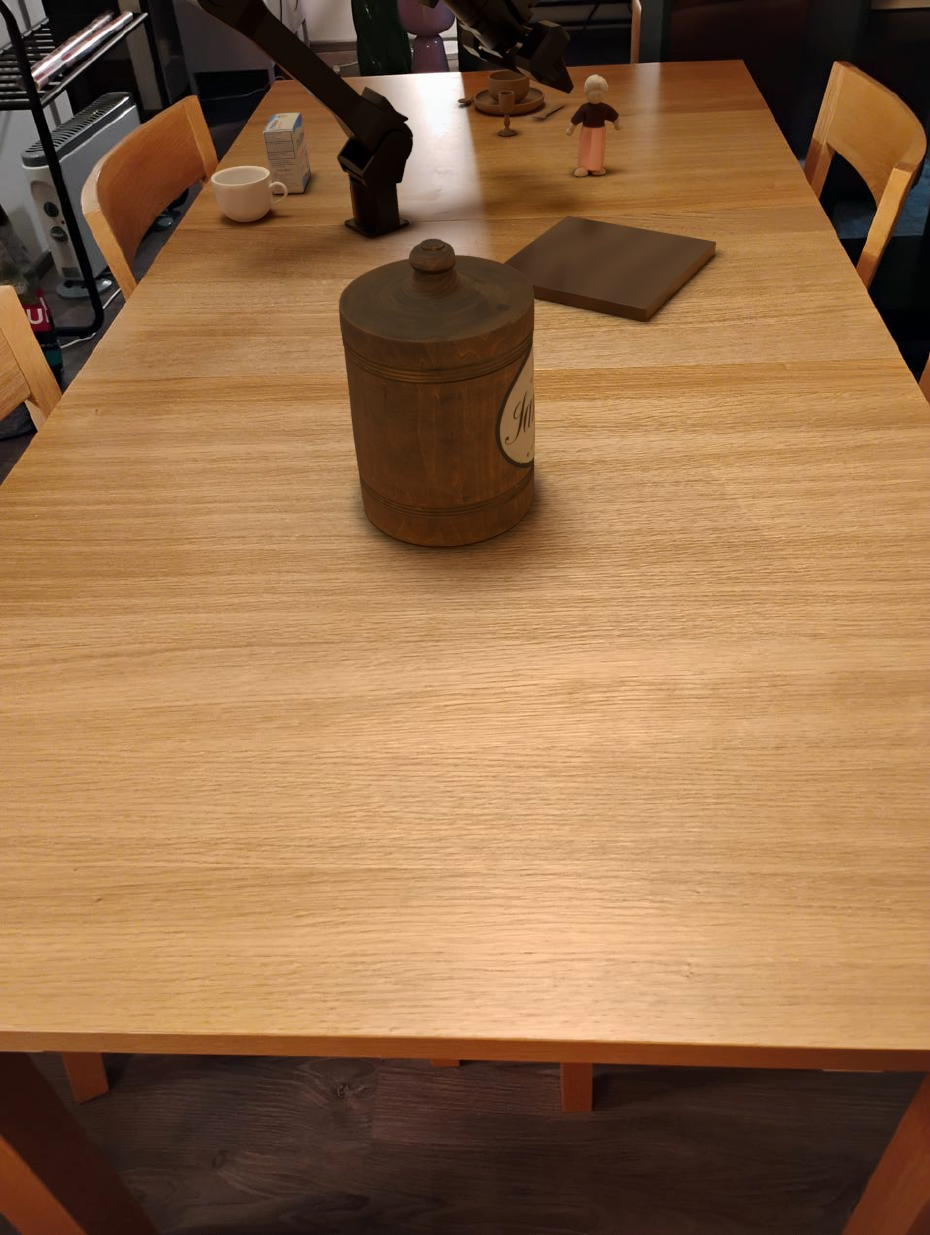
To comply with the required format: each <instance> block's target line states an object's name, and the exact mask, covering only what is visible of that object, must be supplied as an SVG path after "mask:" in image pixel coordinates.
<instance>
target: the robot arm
mask: <svg viewBox="0 0 930 1235" xmlns="http://www.w3.org/2000/svg"><path fill="white" fill-rule="evenodd" d="M186 1H187V2H189V3H190V4H192V5H193V6H195V7H197V8H198V9H200V10H202V11H203V12H204V13H206V14H208V15H209V16H211V17H212V18H214V19H215V20H218V21H219V22H221V23H222V24H224V25H226V26H227V27H229V28H231V29H232V30H234V31H235V32H237V33H239V34H240V35H242V36H244V37H245V39H247V40H248V41H249V42H250V43H252V45H254V47H256V48H257V49H258V50H259V51H260V52H261V53H263V54H264V55H265V56H267V58H268V59H270V60H271V61H272V62H273V63H274V64H275V65H276V66H277V67H278V68H280V69H281V70H282V72H284V73H285V74H286V75H288V76H289V77H290V78H291V79H292V80H293V81H294V82H295V83H297V84H298V85H299V86H300V87H301V88H302V89H303V90H305V91H306V92H307V93H308V94H309V95H310V96H311V97H312V98H314V100H316V101H317V102H318V103H319V104H320V105H321V106H323V107H324V108H325V109H326V111H328V112H329V113H330V114H331V115H332V116H333V117H334V119H335V121H336V122H337V123H338V125H339V127H340V128H341V130H342V131H343V133H344V135H345V136H346V137H347V140H346V142H345V143H344V145H343V146H342V148H341V150H340V151H339V152H338V154H337V156H336V159H337V162H338V164H339V166H340V168H341V170H342V172H344V173H346V174H348V182H349V192H350V201H351V207H352V208H351V209H352V216H353V217H352V218H349V219H346V220H344V225H345V226H346V227H348V228H350V229H352V230H354V231H356V232H358V233H360V234H362V235H363V236H366V237H368V238H375V237H378V236H381V235H384V234H386V233H390V232H392V231H395V230H398V229H402V228H404V227H406V226H409V225H411V222H410V221H411V220H410V219H408V218H406V217H403V216H402V215H400V207H399V197H398V184H401V183H402V182H403V180H404V174H405V169H406V165H407V161H408V159H409V158H410V156H411V154H412V151H413V148H414V134H413V131H412V129H411V128H410V126H409V125H408V124H407V122H408V121H409V117H408V116H407V115H404V114H403V113H401V112H399V111H398V110H396V108H395V106H394V105H392V103H391V102H390V100H389V98H387V97H386V96H385V95H383V94H381V93H379V92H378V91H376V90H374V89H371V88H370V87H368V86H366V85H365V86H364V88H363V90H362V92H361V94H360V93H358V92H357V91H356V90H355V89H354V88H353V87H352V86H351V85H350V84H349V83H347V82H346V81H345V80H344V79H343V78H342V77H341V76H340V75H339V74H338V73H337V72H336V71H335V70H334V69H333V68H331V67H330V66H329V64H327V63H326V62H325V61H324V60H323V59H322V58H321V57H320V56H319V55H317V53H315V52H314V51H313V50H312V49H311V48H310V47H309V46H308V45H307V44H305V42H304V41H302V40H301V38H299V37H298V36H297V35H296V34H295V33H294V32H293V31H292V30H291V29H289V27H287V25H285V24H284V23H283V22H282V21H281V20H280V19H279V18H277V16H275V14H274V13H272V11H271V10H270V9H269V7H268V6H267V3H266V2H265V1H264V0H186ZM440 1H441V2H442V3H443V4H444V5H445V6H446V7H447V9H449V10H450V11H451V12H452V13H453V15H455V16H456V17H457V19H459V20H458V22H457V24H458V25H459V26H460V27H461V28H462V29H463V30H462V31H461V35H460V36H461V45H462V47H463V48H465V49H466V50H467V51H468V52H469V53H470V54H471V55H474V56H476V57H477V58H479V59H481V60H483V61H485V62H488V63H491V64H493V65H496V66H499V67H501V68H503V69H505V70H511V71H514V72H516V73H519V74H521V75H524V76H527V78H528V79H530V81H533V82H536V83H538V84H541V85H544V86H546V87H549V88H551V89H554V90H557V91H560V92H562V93H564V94H567V95H569V94H571V93H572V91H573V89H574V87H575V85H574V83H573V81H572V78H571V76H570V73H569V71H568V69H567V66H566V64H565V61H564V58H563V52H564V50H565V49H566V47H567V45H568V44H569V42H570V38H571V35H570V34H569V32H567V30H566V29H565V28H564V27H563V26H562V25H561V24H558V23H555V22H553V21H550V20H541V21H537V22H536V23H535V24H534V26H533V27H532V28H530V27H527V26H525V25H526V24H529V23H530V21H531V20H532V18H533V16H534V15H535V14H534V13H533V11H532V10H531V9H532V8H534V7H536V5H538V4H539V3H540V2H541V1H542V0H417V3H418V4H419V5H421V6H423V7H425V8H429V9H431V10H434V9H435V8H436V7H437V5H438V4H439V2H440ZM405 122H406V123H405Z"/></svg>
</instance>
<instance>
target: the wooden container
mask: <svg viewBox="0 0 930 1235" xmlns="http://www.w3.org/2000/svg"><path fill="white" fill-rule="evenodd" d="M503 263H504V262H500V261H498V260H497V261H496V260H493V259H489V258H485V257H481V256H474V255H462V254H456V253H455V249H454V247H453V246H452V245H451V244H450V243H448V242H446V241H444V240H442V239H441V238H426V239H424V240H422V241H421V242H419V243H418V244H416V245H415V246H414V247H412V249H411V250H410V252H409V255H408V258H405V259H404V258H403V259H400V260H396V261H392V262H389V263H385V264H382V265H380V266H377V267H375V268H373V269H371V270H368V271H366V272H364V273H363V274H360V275H359V276H358V277H356V278H355V279H353V280H351V282H349V284H347V285H346V286H345V288H344V289H343V291H341V294H340V296H339V300H338V314H339V328H340V332H341V340H342V346H343V351H344V362H345V369H346V378H347V388H348V395H349V407H350V417H351V427H352V434H353V435H352V436H353V444H354V448H355V449H354V450H355V457H356V464H357V469H358V477H359V484H360V490H361V492H360V493H361V499H362V504H363V508H364V511H365V513H366V515H367V517H368V519H369V520H370V521H371V523H373V525H374V526H376V527H377V528H378V529H379V530H380V531H382V532H384V533H385V534H387V535H388V536H391V537H393V538H394V539H397V540H399V541H402V542H406V543H408V544H413V545H419V546H425V547H456V546H464V545H471V544H475V543H479V542H483V541H486V540H488V539H491V538H494V537H496V536H498V535H500V534H502V533H504V532H506V531H507V530H509V529H511V528H512V527H513V526H515V525H516V524H517V523H519V522H520V521H521V520H522V519H523V517H525V516H526V514H527V513H528V512H529V510H530V508H531V506H532V504H533V501H534V495H535V455H536V408H535V407H536V406H535V404H536V403H535V378H534V377H535V374H534V373H535V369H534V366H535V365H534V364H535V363H534V362H535V358H534V357H535V356H534V332H535V311H536V310H535V298H534V291H533V287H532V284H531V283H530V281H529V280H528V279H527V278H526V277H525V276H524V275H523V274H522V273H521V272H519V271H518V270H516V269H514V268H513V267H510V266H508V265H506V264H503Z"/></svg>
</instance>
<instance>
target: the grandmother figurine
mask: <svg viewBox="0 0 930 1235" xmlns="http://www.w3.org/2000/svg"><path fill="white" fill-rule="evenodd" d="M583 90H584V91H583V93H584V94H585V97H586V100H587V102H585V103H583V104H581V105H580V106H579V108H578V109H577V110H576V111H575V112H574V114H573V115H572V117H571V118H570V121H569V123H568V128H567V129H566V130H565V134H566V136H568V137H571V136H573V134H574V131H575V130H576V128H577V126H578V125H580V124H582V125H581V128H580V133H579V139H578V147H577V150H578V151H577V160H576V161H577V162H576V166H577V168H576V169H575V170H574V173H573V175H574V176H575V177H586V176H588V175H589V171H590V173H591V174H592V175H594V176H603V175H605V174H606V169H605V167H603V166H604V165H605V164H604V163H605V157H606V156H605V155H606V146H607V145H606V144H607V142H606V140H607V127H606V121H607V122H610V123H612V125H613V128H614V130H615V131H617V132H618V131H622V128H623V125H622V123H621V119H620V114H619V112H617V110H616V109H615V108H614V107H613V106H612V105H610V104H608V103H605V102H602V101H603V100H604V98H605V96H606V94H607V93H608V91H609V85H608V83H607V80H606V79H605V78H604V77H603V76H600V75H599V74H597V73H596V74H592V75H589V76H588V77H587V79H586V80H585V83H584V84H583Z"/></svg>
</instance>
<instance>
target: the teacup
mask: <svg viewBox="0 0 930 1235" xmlns="http://www.w3.org/2000/svg"><path fill="white" fill-rule="evenodd" d="M210 180H211V185H212V188H213V192H214V196H215V199H216V202H217V205H218V208H220V211H221V212H222V213H223V214H224V215H225V216H226V217H227V218H229V219H230V220H233V221H235V222H238V223H249V222H255V221H257V220H260V219H262V218H263V217H265V215H267V213H269V211H270V209H271V207H273V206H276V205H279V204H281V203H283V202H284V201H285V200H286V199H287V197H288V195H289V193H288V192H287V188H286V186H285V185H284V184H283V183H281V182H273V183H272V181H271V176H270V171H269V168H265V167H262V166H257V165H241V166H240V165H239V166H233V167H227V168H224V169H221V170H219V171H217V172H215V173H213V174H212V175H211V177H210ZM276 186H281V187H282V188H283V190H284V194H283V196H282V197H281V198H279V199H278V198H277V199H274V198H273V193H274V191H273V190H274V188H275V187H276Z"/></svg>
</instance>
